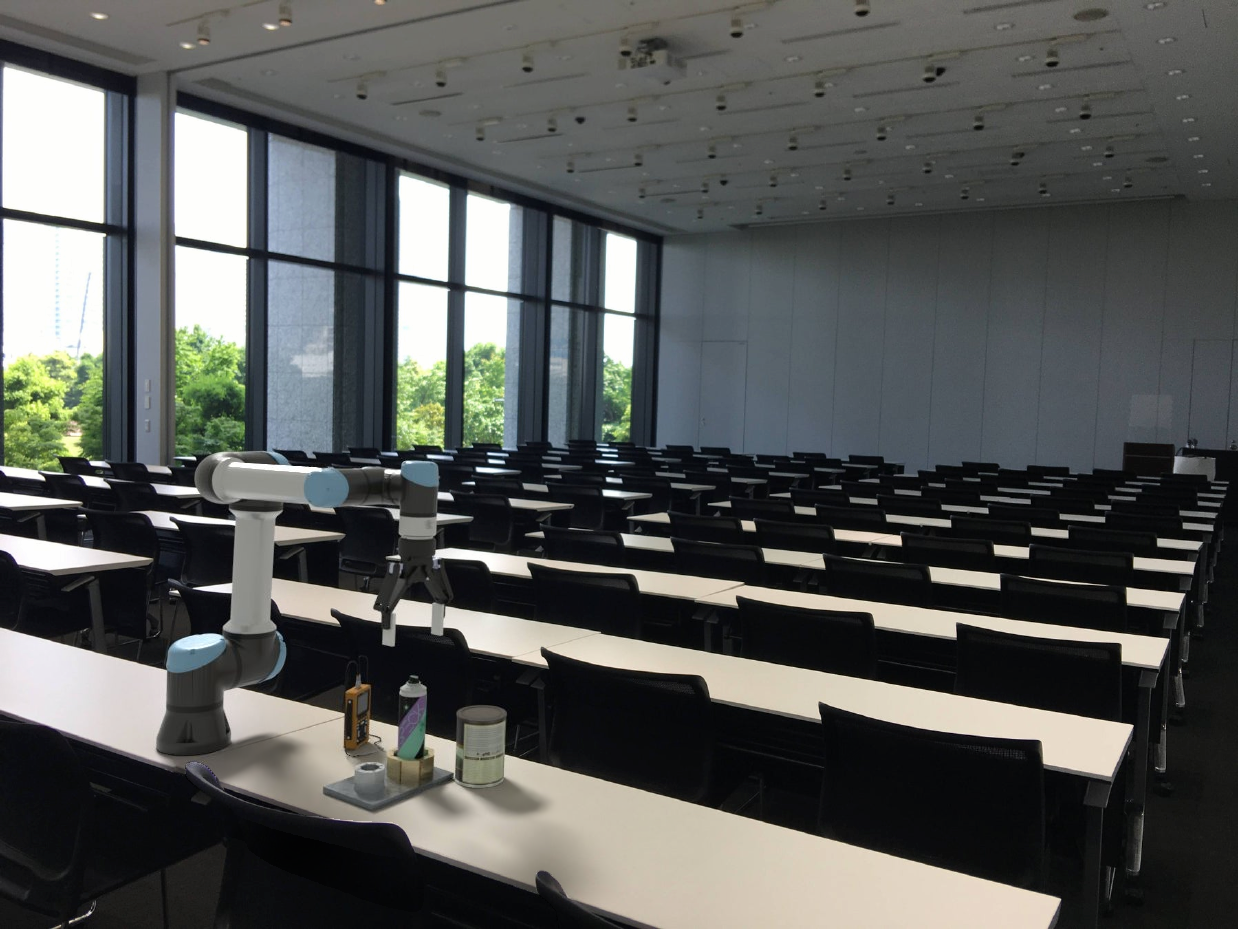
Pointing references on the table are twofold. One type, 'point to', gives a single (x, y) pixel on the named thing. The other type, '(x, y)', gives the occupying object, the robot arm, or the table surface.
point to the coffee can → (480, 746)
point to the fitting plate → (389, 780)
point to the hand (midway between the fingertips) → (413, 639)
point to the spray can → (412, 719)
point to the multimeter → (357, 714)
